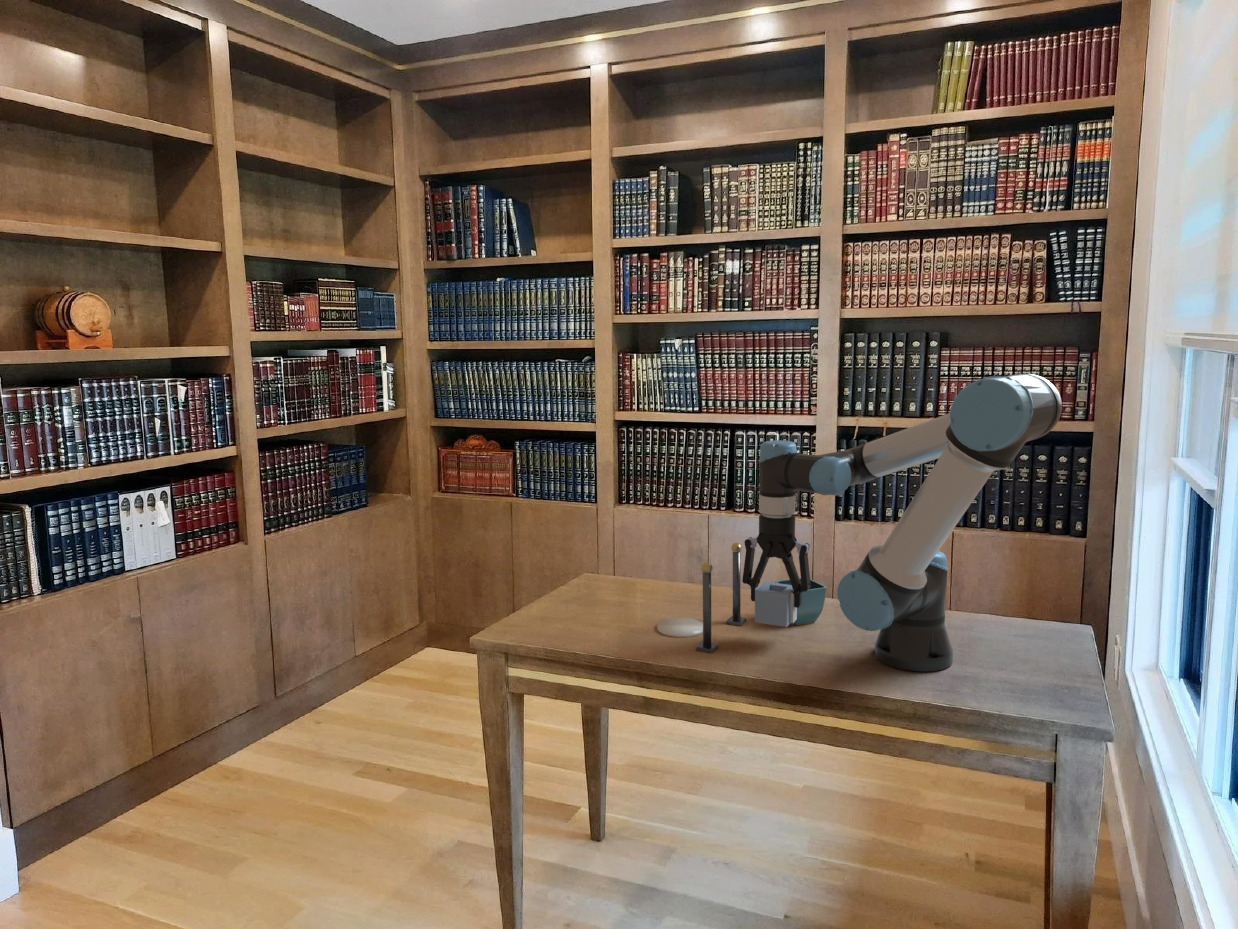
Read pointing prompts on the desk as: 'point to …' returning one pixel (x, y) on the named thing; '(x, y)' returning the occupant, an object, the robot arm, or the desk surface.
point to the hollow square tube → (773, 604)
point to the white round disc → (680, 627)
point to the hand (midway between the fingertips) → (775, 618)
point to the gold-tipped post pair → (733, 620)
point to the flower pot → (809, 602)
